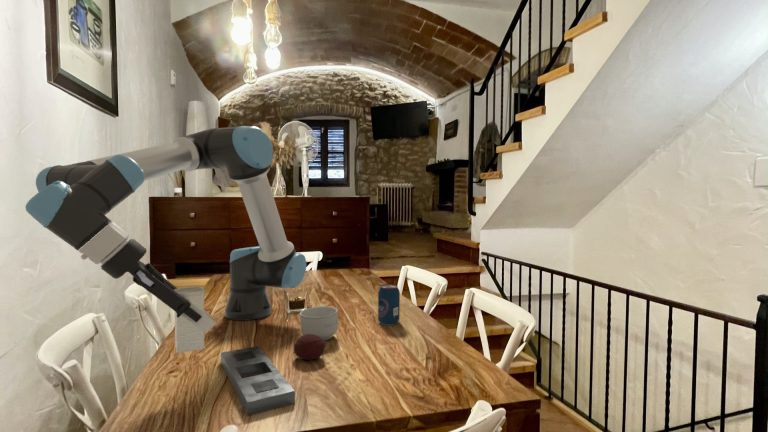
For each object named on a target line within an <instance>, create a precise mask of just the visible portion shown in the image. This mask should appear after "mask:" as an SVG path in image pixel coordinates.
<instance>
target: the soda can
mask: <svg viewBox="0 0 768 432" xmlns="http://www.w3.org/2000/svg"><path fill="white" fill-rule="evenodd" d="M400 291H401V290H400V289H399V286H398V285H396V284H389V283H387V284H382V285H380V286H379V289H378V292H377V293H378V295H377V297H378V298H377V319H378V322H379V324H380V325H383V326H395V325H397V324H398V322H400V312H401V311H400V307H401V306H400V305H401V304H400V300H401V299H400V293H401V292H400ZM394 324H395V325H394Z"/></svg>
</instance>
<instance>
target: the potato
mask: <svg viewBox="0 0 768 432" xmlns="http://www.w3.org/2000/svg"><path fill="white" fill-rule="evenodd" d="M293 347H294V348H293V353H294V354H295V356H297V357H298V358H300V359H303V360H315V359H317V358H320V357H322V356H323V354H324V353H325V349H326V342H325V340H323V339H322V338H321V337H320V336H318V335H314V334H305V335H303V334H302V335H300V336H299V337H298V338H297V339H296V340H295V343H294V345H293Z"/></svg>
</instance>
